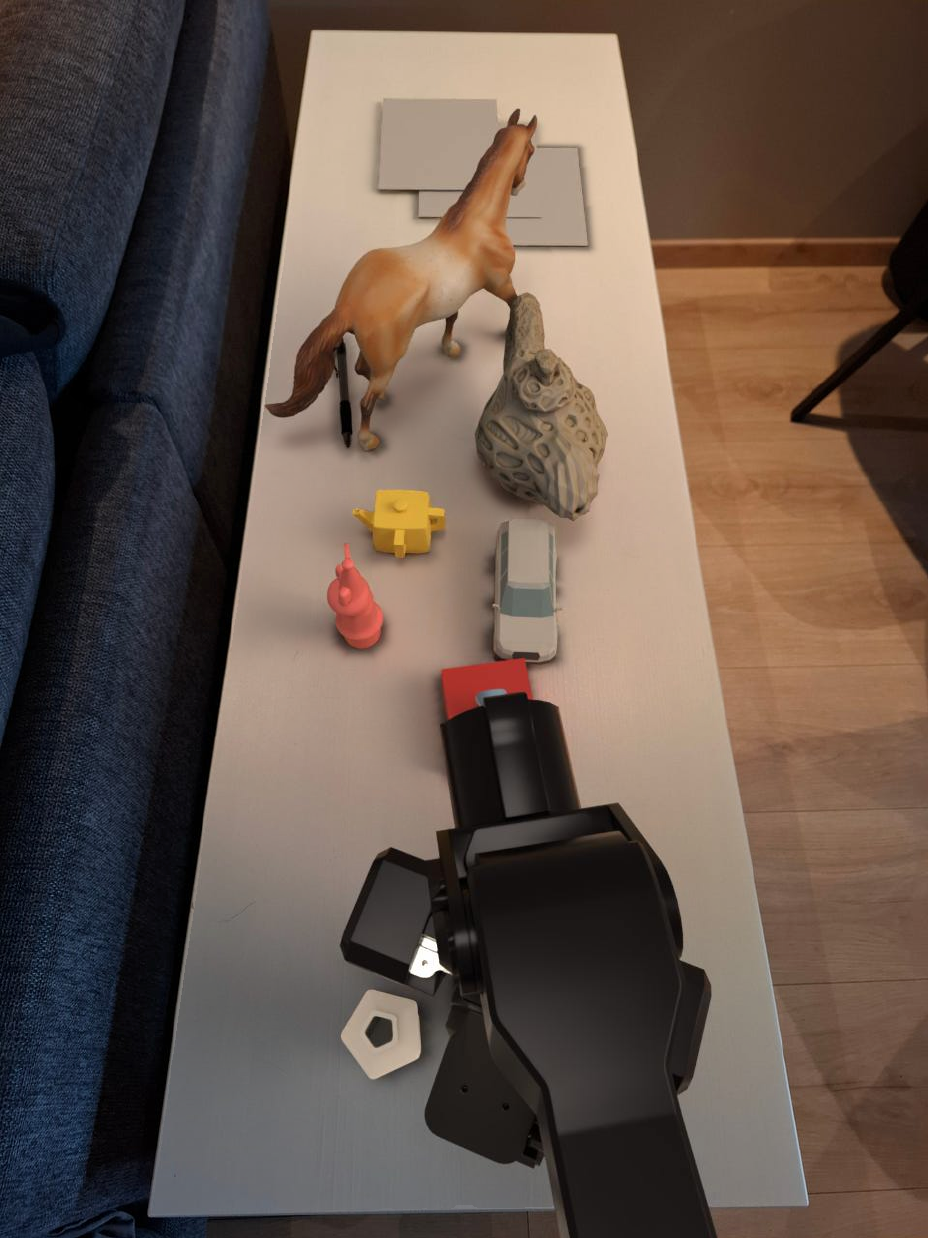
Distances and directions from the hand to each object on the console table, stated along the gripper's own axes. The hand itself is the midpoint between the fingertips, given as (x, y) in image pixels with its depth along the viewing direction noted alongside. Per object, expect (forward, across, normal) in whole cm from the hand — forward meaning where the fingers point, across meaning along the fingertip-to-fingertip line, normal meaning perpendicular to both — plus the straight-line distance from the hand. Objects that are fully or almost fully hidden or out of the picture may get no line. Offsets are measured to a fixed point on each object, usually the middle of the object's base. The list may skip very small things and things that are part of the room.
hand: (512, 977), depth 52 cm
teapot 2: (+10, -13, +44) cm, 47 cm away
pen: (+10, -33, +45) cm, 57 cm away
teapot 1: (+10, -21, +32) cm, 39 cm away
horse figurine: (+10, -28, +50) cm, 59 cm away
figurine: (+10, -21, +22) cm, 32 cm away
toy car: (+10, -9, +30) cm, 32 cm away
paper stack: (+10, -32, +82) cm, 88 cm away
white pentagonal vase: (+10, -6, -6) cm, 13 cm away
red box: (+10, -8, +18) cm, 22 cm away
